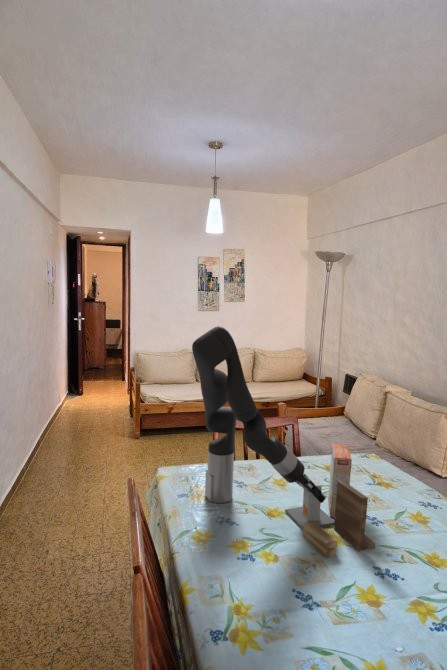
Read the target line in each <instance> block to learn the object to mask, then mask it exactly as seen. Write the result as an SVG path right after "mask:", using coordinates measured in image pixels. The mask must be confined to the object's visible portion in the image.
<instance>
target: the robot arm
mask: <svg viewBox="0 0 447 670" xmlns="http://www.w3.org/2000/svg"><path fill="white" fill-rule="evenodd" d="M191 350H192V355H193V359H194V361H195V365H196V368H197V371H198V375H199V376H198V377H199V381H200V390H201V395H202V399H203V400H202V401H203V405H204V419H205V420H204V421H205V427H206V430H207V431H208V432H211V433H216V434H217V433H218V434H225V435H224V436H222V437H218V438H215V439H213V440H211V441H210V442H209V444H208V453H207V454H208V456H207V457H208V458H207V469H206V470H205V481H204V482H205V484H204V485H205V486H204V488H205V489H204V495H205V497H206V499H207V500H208V502H209V503H216V504H224V503H225V504H226V503H228V502H230V501H231V500H233V493H234V492H233V490H234V489H233V488H234V487H233V486H234V468H235V467H234V466H235V465H234V464H235V461H234V460H235V440H236V439H235V438H236V437H235V436H236V427H237V420H238V421H239V422H241V423H242V425H243V441H244V443H245V445H246V446H247V447H248V448H249V449H250V450H252V451H253V452H255V453H257V454H259V455H260V456H262V457H264V459H265V460H267V462H268V463H269V464H270V465H271V466H272V467H273V469H274V470H275V471H276V472H277V473H278V474H279V475H280V476H281V477H282V478H283V479H284V480H285V481H286V482H287V483H289V484H291V483H295V484H297V485H298V486H299V487H301V488H302V489H303V490H304V489H305V490H306V491H307V492H310V493H311V494H312V495H313V496H314V497H315V498H317V499H318V501H319V502H321V504H323V503H324V502H325V500H326V497H325V496H324V494H323V492H322V489H321V490H319V489H318V488H317V487H316V486H315V484H314V483H313V482H312V481H311V480H310V479H309V478H310V477H309V475H307V474H306V473H305V465H304V464H303V462H301V460H300V459H299V458H298V457H297V456H296V455H295V454H294V453H293V452H292V451H291V450H290V449H288V448H287V447H286V445H284V444H283V443H282V441H280V440H279V439H278V438H277V437H275V436H271V437H270V436H268V434H267V423H266V420H265V417H264V415H263V414H262V413H261V411H260V410H259V409H258V407H257V406H256V403H255V401H254V399H253V396H252V394H251V393H250V392H251V391H250V390H249V387H248V384H247V381H246V378H245V374H244V370H243V366H242V362H241V359H240V356H239V352H238V349H237V346H236V343H235V341H234V338H233V337H232V335H231V333H230V332H229V331H228V330H227V329H226V328H224V327H223V326H220V325H217V326H215V327H213V328H211V329H210V330H208V331H207V332H204V333H203V334H202V335H200V336H199V337H198V338H196V339H195V340H194V341H193V342H192V345H191ZM224 361H225V362H226V367H227V369H226V370H227V374H226V373H225V372H224V371H222V370H220V369H217V368H216V367H217V366H218V365H220V364H222V362H224ZM227 403H228V405H229V406H225V405H226V404H227ZM306 488H307V489H306Z"/></svg>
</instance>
